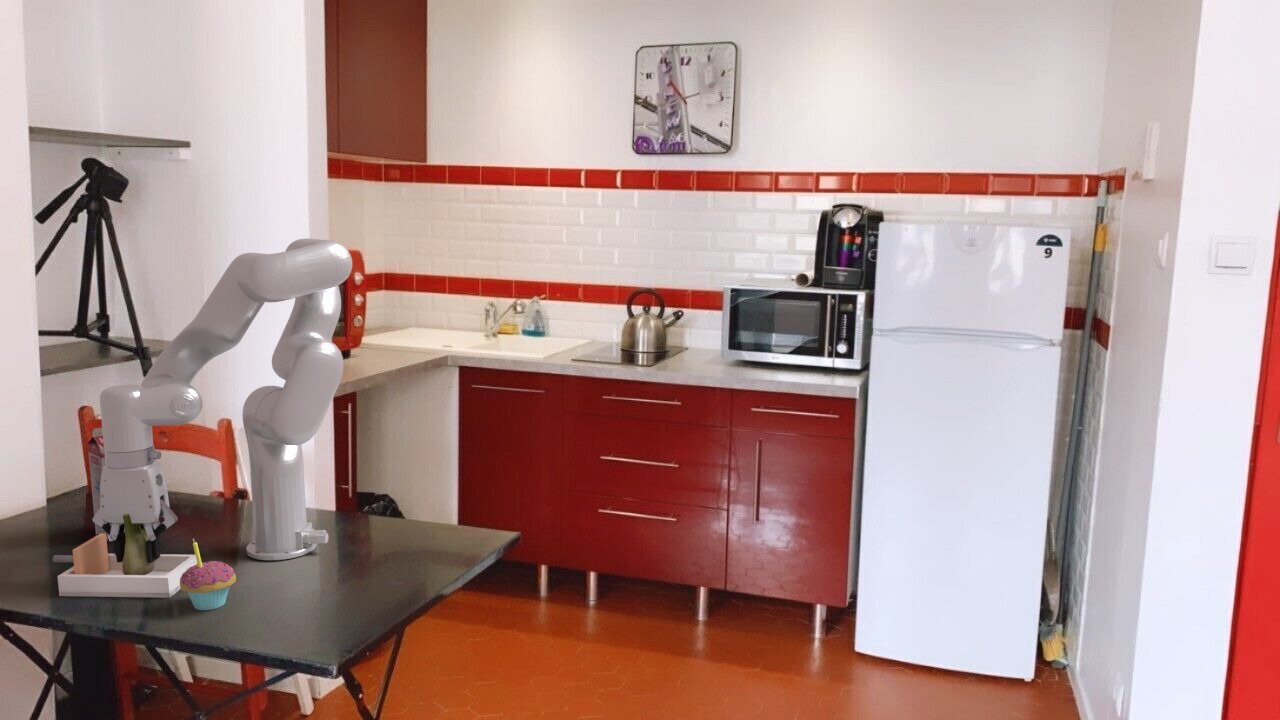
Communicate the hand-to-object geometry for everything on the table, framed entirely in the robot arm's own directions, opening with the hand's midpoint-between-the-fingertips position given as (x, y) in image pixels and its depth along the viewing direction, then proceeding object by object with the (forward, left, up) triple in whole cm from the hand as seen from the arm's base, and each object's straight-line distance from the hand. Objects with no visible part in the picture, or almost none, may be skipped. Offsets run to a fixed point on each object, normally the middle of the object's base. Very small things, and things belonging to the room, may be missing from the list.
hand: (138, 558), depth 176 cm
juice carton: (+18, -26, -5) cm, 32 cm away
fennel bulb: (0, 0, -3) cm, 3 cm away
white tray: (+2, 0, -5) cm, 5 cm away
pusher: (+11, 0, -4) cm, 12 cm away
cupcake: (-16, +8, -5) cm, 18 cm away
